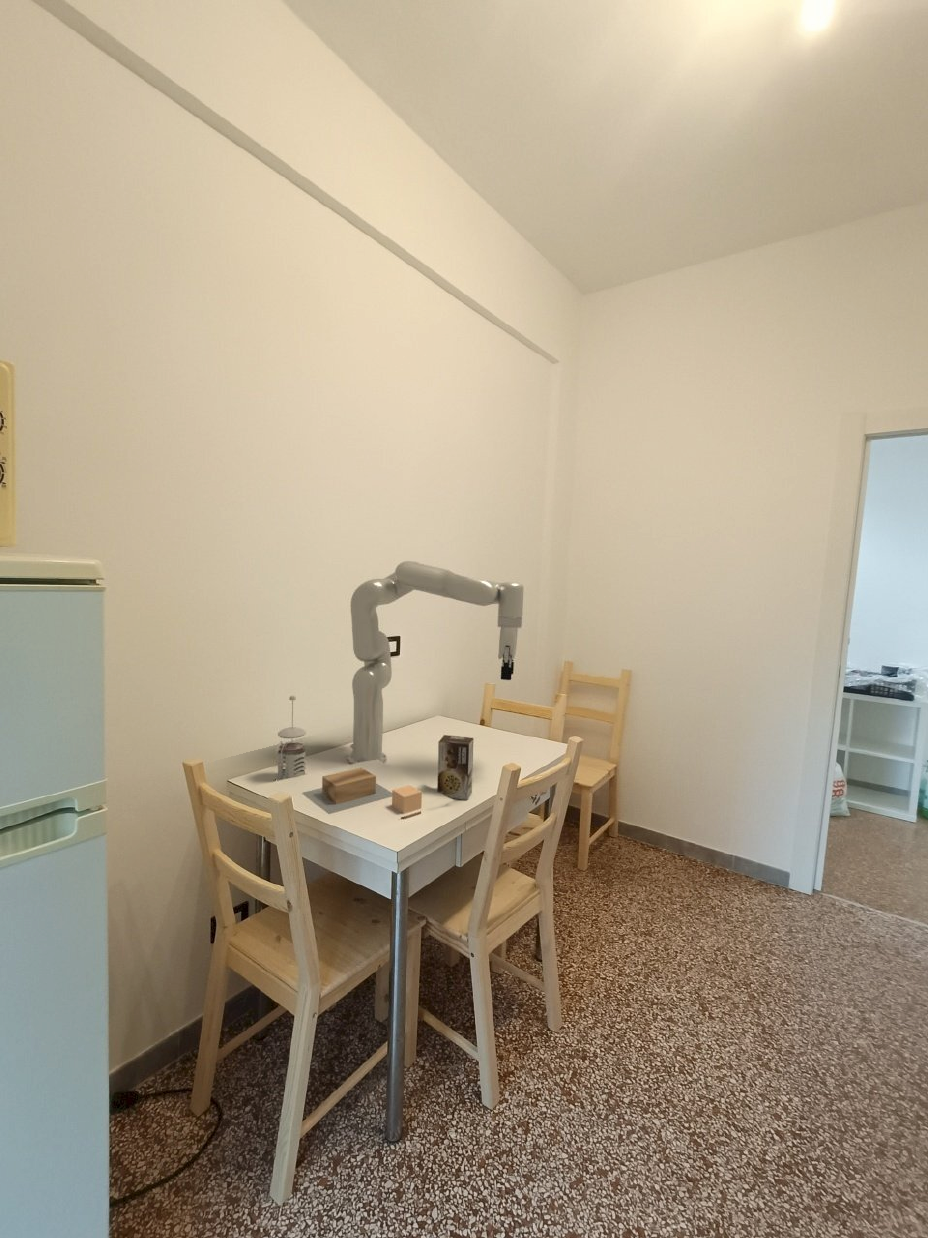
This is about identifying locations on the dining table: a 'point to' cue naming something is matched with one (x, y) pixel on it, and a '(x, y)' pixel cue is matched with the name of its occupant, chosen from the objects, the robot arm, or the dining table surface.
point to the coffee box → (455, 766)
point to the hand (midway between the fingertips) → (507, 676)
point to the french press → (291, 752)
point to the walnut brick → (348, 785)
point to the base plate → (332, 807)
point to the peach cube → (407, 800)
